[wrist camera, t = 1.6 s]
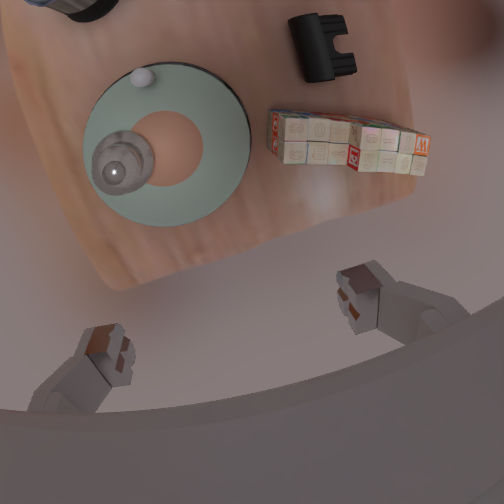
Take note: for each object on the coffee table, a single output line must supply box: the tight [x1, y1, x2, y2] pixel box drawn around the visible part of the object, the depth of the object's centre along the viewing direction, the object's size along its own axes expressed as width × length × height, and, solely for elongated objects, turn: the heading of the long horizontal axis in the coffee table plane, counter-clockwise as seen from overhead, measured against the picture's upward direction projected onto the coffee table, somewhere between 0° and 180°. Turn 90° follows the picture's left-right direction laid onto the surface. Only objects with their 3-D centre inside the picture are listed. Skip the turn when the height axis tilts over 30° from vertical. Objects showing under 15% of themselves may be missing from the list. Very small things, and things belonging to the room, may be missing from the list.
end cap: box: [288, 13, 357, 83], centre depth 34 cm, size 10×7×7 cm
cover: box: [91, 130, 154, 196], centre depth 35 cm, size 9×9×6 cm
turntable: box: [83, 64, 250, 227], centre depth 37 cm, size 24×24×6 cm
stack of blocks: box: [267, 110, 431, 176], centre depth 39 cm, size 21×6×12 cm, turn 88°
